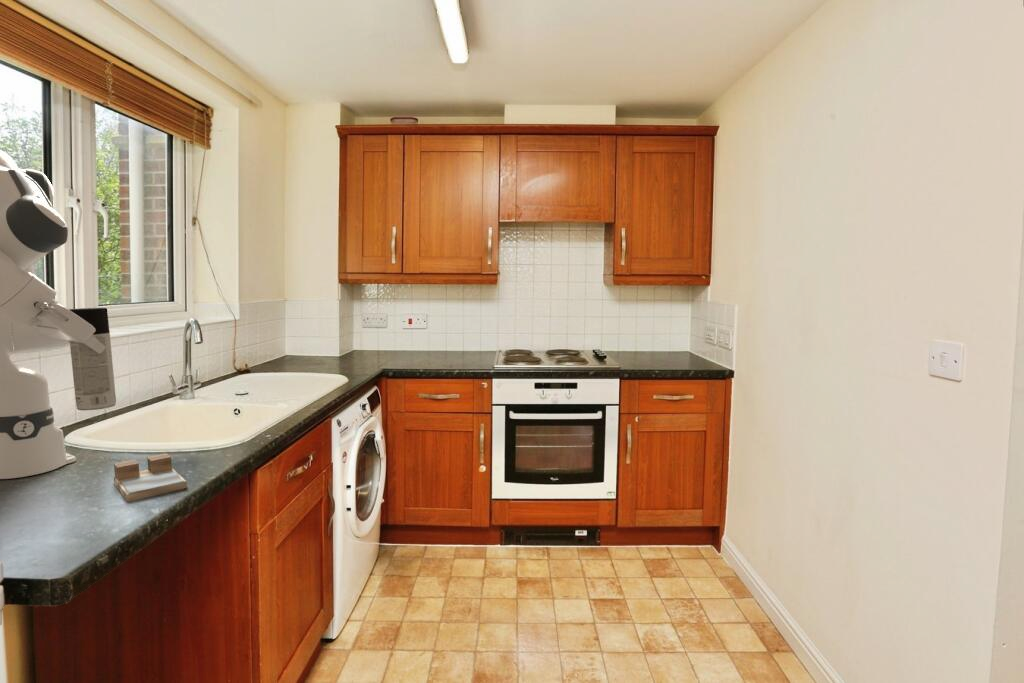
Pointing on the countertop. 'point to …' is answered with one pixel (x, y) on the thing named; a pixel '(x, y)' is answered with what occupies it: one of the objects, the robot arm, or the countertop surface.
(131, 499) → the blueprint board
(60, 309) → the robot arm
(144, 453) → the countertop surface
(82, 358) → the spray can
